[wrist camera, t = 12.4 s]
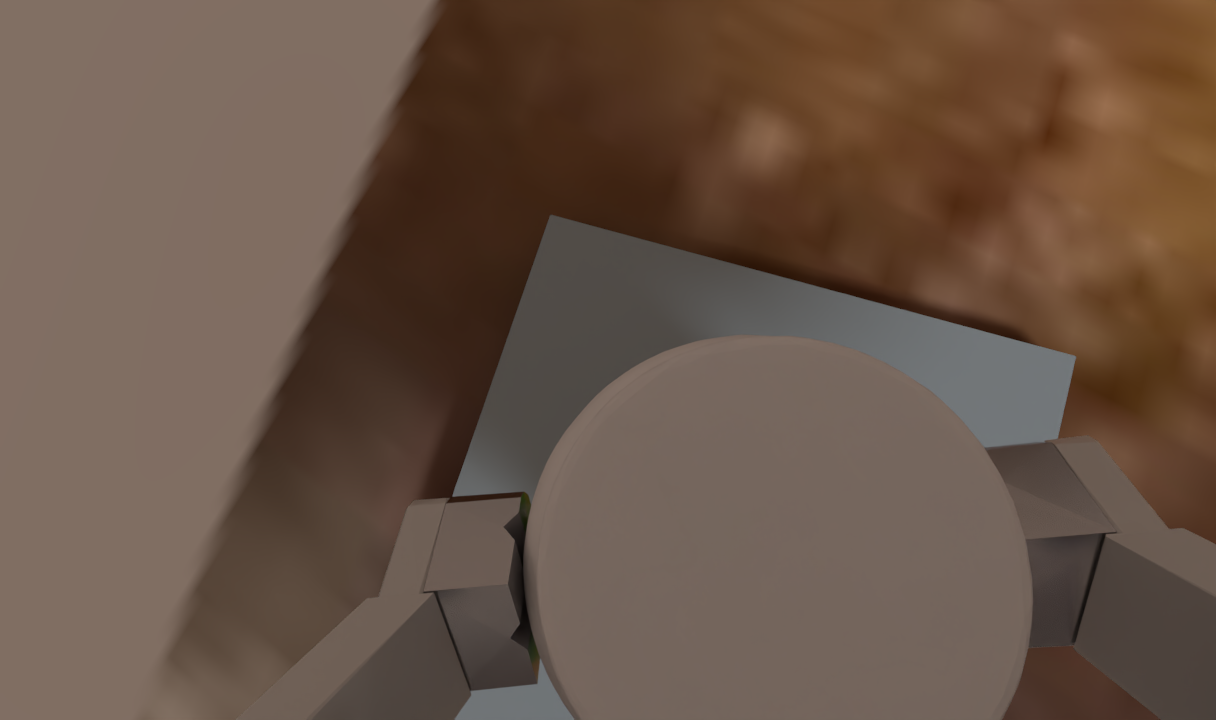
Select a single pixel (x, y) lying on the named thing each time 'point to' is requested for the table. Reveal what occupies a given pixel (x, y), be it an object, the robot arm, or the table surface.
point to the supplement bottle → (775, 545)
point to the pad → (697, 310)
